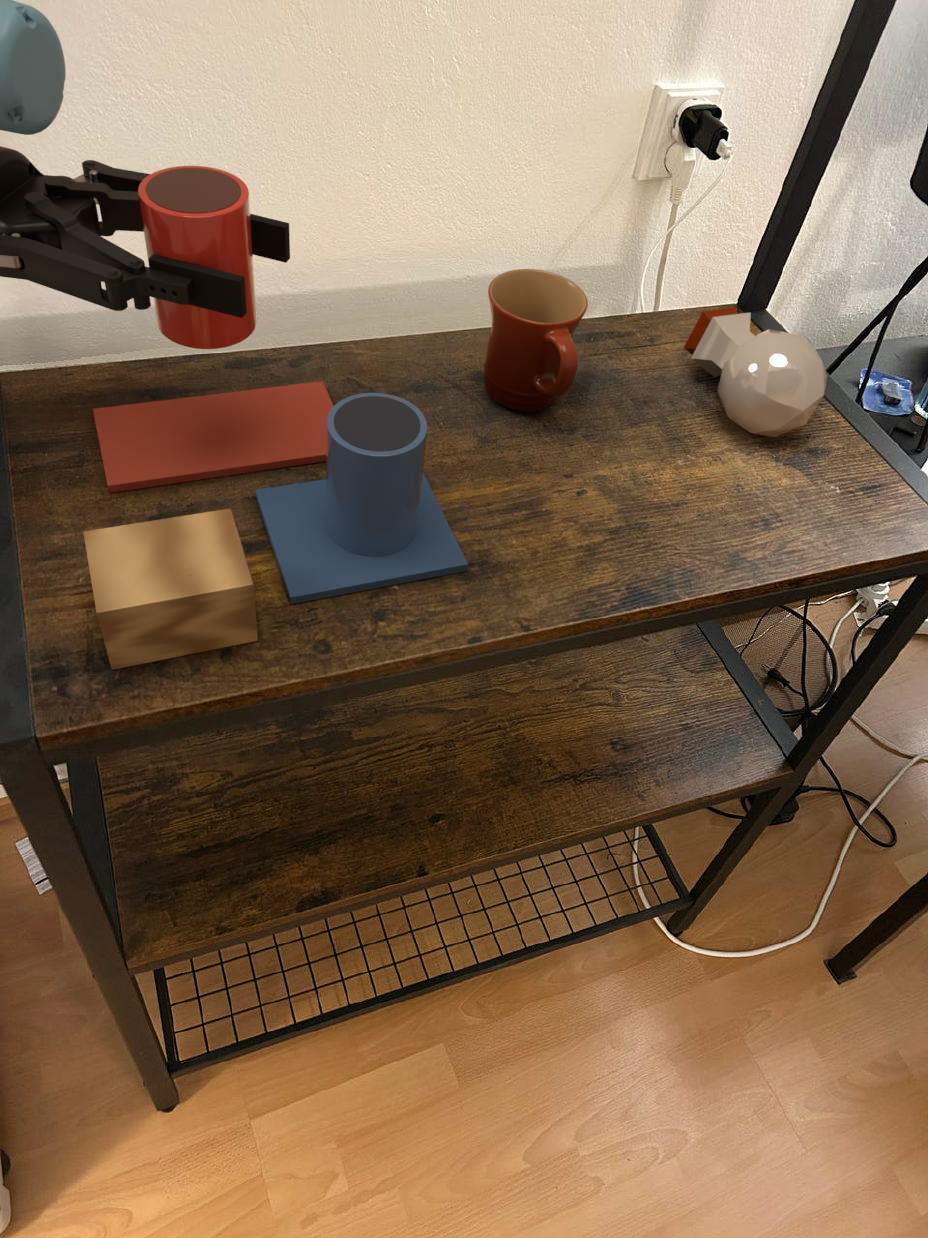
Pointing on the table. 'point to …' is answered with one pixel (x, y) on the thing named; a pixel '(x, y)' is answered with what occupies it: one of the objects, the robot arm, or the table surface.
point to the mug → (532, 338)
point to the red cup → (200, 246)
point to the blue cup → (374, 473)
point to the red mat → (212, 435)
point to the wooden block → (171, 587)
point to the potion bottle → (758, 372)
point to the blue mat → (330, 569)
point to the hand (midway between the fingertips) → (265, 269)
